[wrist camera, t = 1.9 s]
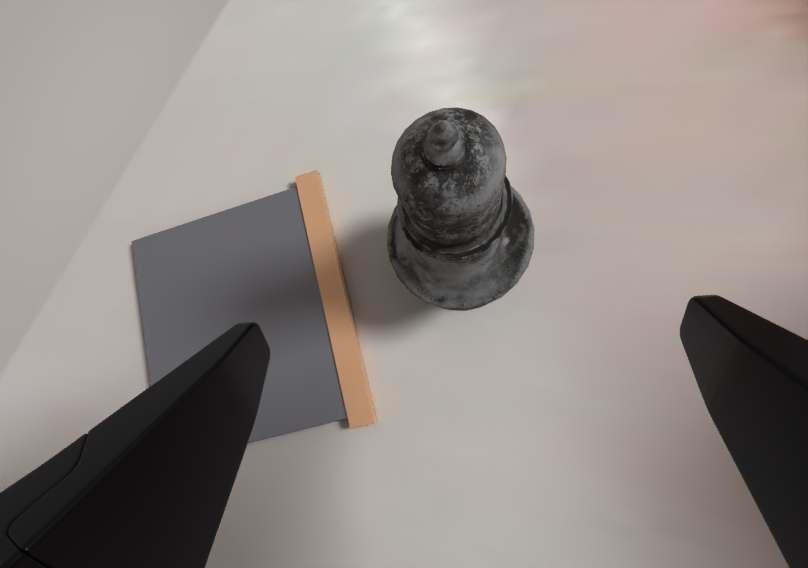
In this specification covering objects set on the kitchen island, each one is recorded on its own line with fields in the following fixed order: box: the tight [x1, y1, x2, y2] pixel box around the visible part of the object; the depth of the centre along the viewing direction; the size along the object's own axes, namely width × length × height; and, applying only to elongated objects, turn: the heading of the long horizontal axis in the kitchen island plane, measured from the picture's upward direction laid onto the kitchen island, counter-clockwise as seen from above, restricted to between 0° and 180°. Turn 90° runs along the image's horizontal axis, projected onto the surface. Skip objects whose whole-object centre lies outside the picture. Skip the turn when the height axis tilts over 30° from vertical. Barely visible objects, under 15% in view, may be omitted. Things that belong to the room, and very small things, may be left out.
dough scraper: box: [132, 170, 377, 443], centre depth 21 cm, size 11×13×1 cm
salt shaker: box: [387, 108, 534, 310], centre depth 14 cm, size 6×6×12 cm
